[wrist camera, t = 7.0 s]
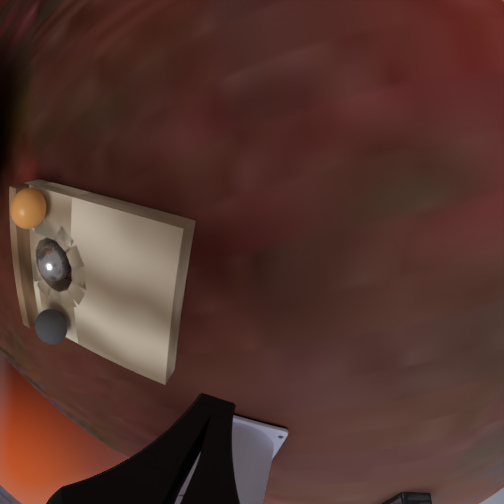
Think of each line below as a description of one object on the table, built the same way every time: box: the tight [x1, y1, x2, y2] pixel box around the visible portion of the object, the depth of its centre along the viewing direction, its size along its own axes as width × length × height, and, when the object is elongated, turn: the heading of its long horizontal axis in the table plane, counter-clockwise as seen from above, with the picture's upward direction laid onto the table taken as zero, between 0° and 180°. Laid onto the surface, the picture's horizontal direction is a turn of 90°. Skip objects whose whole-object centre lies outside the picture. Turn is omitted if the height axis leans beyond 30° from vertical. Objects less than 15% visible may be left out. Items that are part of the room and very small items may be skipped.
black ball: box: [35, 309, 67, 345], centre depth 20 cm, size 3×3×3 cm
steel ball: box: [37, 242, 71, 282], centre depth 20 cm, size 3×3×3 cm
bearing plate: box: [9, 179, 196, 385], centre depth 20 cm, size 13×15×4 cm
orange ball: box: [10, 188, 46, 229], centre depth 17 cm, size 3×3×3 cm
